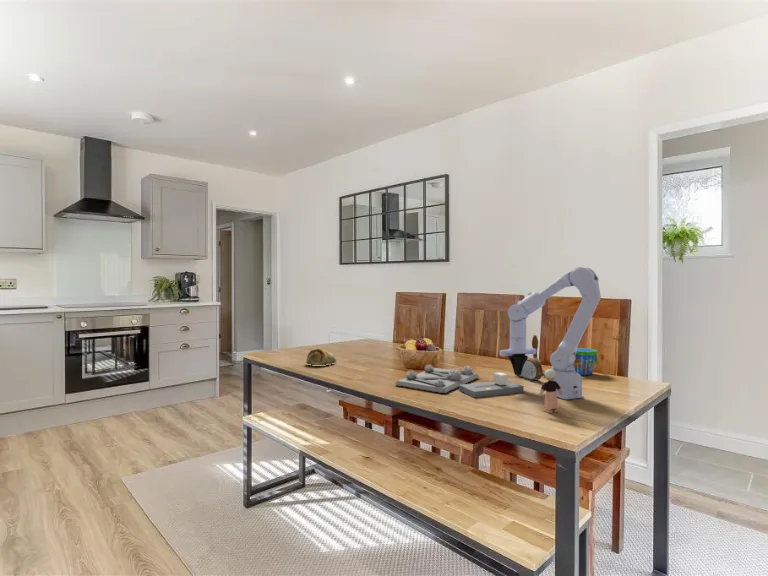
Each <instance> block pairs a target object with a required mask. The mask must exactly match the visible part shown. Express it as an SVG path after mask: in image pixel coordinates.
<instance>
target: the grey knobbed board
mask: <svg viewBox="0 0 768 576" xmlns="http://www.w3.org/2000/svg"><path fill="white" fill-rule="evenodd" d="M451 368H452V369H447V368H440V367H438V368H437V367H435V366H433V365H432V364H426V365H425V366H424V368H423V369H424V370H423V371H422V372H416V370H413V369H410V370H407V371H406V374H404V378H402V379H399V380H397V381H395V383H394V384H395V385H396V387H399V386H403V387H402V388H405V387H409V388H408V389H411V388H414V389H413V390H417V389H420V390H419V391H423V390H426V391H425V392H428V391H432V392H431V393H434V392H438V393H437V394H440V393H445V394H447V392H448V393H449V391H450V392H452V391H453V390H455V389H459V385H463V384H466V383H467V384H469V383H470V382H473V381H475V380H478V379H479V378H480V376H479V374H478V373H475V372H473V370H474V368H472V366H471V365H464V366H461V368H460V369H461V370H460V369H459V368H457V369H456V368H455V367H454V368H453V367H451ZM468 382H469V383H468ZM451 390H452V391H451Z"/></svg>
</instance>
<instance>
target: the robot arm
mask: <svg viewBox="0 0 768 576" xmlns="http://www.w3.org/2000/svg"><path fill="white" fill-rule="evenodd" d="M570 287H575V288H577V290H578V292H579V294H580V295H581V297H582V300H581V301H580V304H579V306H578V308H577V309H576V312H575V314H574V316H573V318H572V320H571V323H570V324H569V327H568V329H567V331H566V333H565V334H564V337H563V339H562V341H561V342H560V344H559V345H558V347H557V348H556V350H555V351H553V352H552V353H551V355H550V356H549V362H550V364H551V369H553V370H554V371H555V373H556V377H555V379H554V380H553V381H556V382H557V383H558V384H559V386H560V387H561V391H562V394H559V391H558V390H557V389H556V395H557V398H560V399H562V400H574V399H580V398H581V399H583V398H584V397H585V396H584V395H583V377H582V375H580V374H579V373H576V372H575V370H574V366H573V365H572V364H573V363H574V362H575V359H576V351H577V348H579V344H580V341H581V339H583V335H584V333H585V332H586V329H587V328H588V325H589V324H590V322H591V320H592V318H593V315H594V313H595V311H596V309H597V307H598V304H599V302H600V301H601V297H602V295H601V290H600V284H599V277H598V275H597V274H596V272H595V271H594V270H593V269H592V268H589V267H580V266H579V267H575V268H574V269H572V270H571V271H568V272H566V273H564V274H562V275H561V276H560V277H559V278H557V279H556V280H554V281H553V282H552V283H550V284H549V285H547V287H545V288H544V289H542V290H541V291H533V292H528V293H527V296H526V297H524V298H523V299H522V300H518V301H517V304H512V305H511V306H510V307H508V309H507V316H508V318H509V348H507V349H501V350H499V354H498V355H499V356H500V357H508V359H509V361H510V364H511V366H512V370H513V373H514V375H515V376H518V375H521V373H522V369H523V366H524V364H525V362H526V360H527V359H528V357H529V355H533V354H536V349H534V348H533V347H527V318H528V317H529V315H531V314H533V313H534V312H536V311H537V310H539V309H541V308H542V307H543V306H545V304H546V300H547V299H549V298H550V297H553V296H554V295H555V294H557V293H559V292H560V291H562V290H563V289H565V288H570Z"/></svg>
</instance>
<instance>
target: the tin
mask: <svg viewBox="0 0 768 576" xmlns="http://www.w3.org/2000/svg"><path fill="white" fill-rule="evenodd" d="M541 366H542V363H541V364H540V363H539V362H538V361H537V360H536V359H533V357H529V356H528V359H527V360H526V362H525V364H524V366H523V369H522V373H521V375H517V376H518V377H520V378H523V379H526V380H528V381H529V380H530V381H539V380H540V379H541V378H542V376H543V375H542V372H543V371H542V369H543V367H541Z"/></svg>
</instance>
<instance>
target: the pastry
mask: <svg viewBox="0 0 768 576" xmlns="http://www.w3.org/2000/svg"><path fill="white" fill-rule="evenodd" d="M306 363H307V364H311V365H326V364H332V363H336V364H337V358H336V356H335V354H333V353H332V352H329V351H328V350H324V349H321V348H316V349H313V350H310V351H309V352H308V354H307V357H306V362H305V364H306Z"/></svg>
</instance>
